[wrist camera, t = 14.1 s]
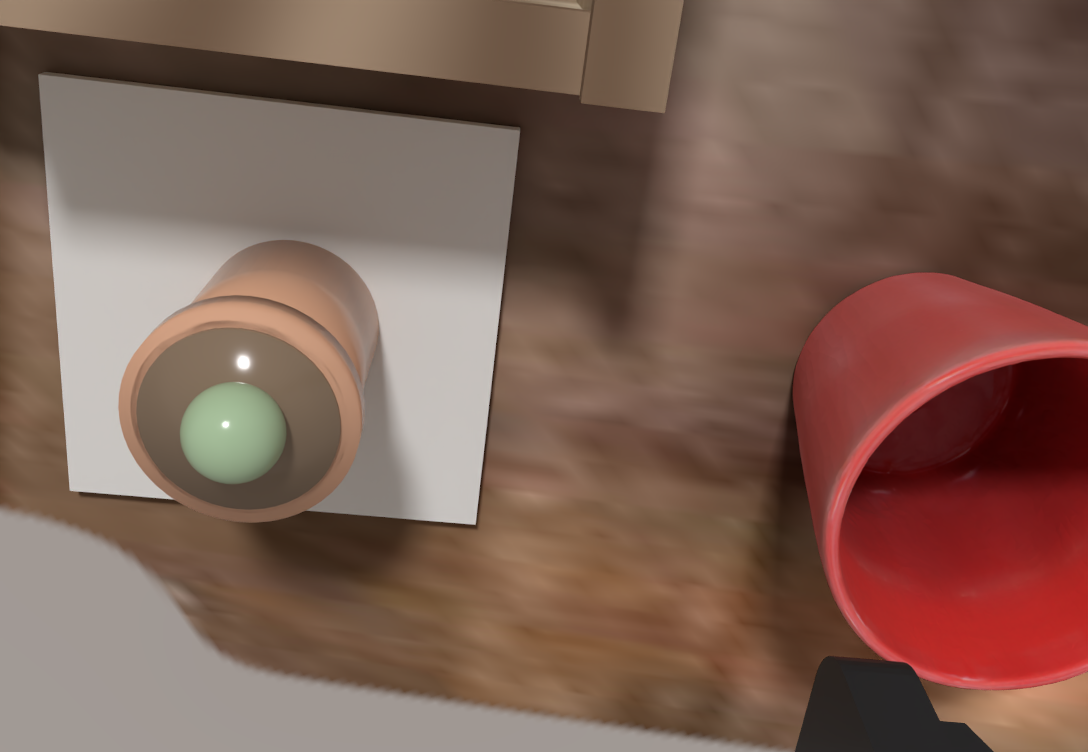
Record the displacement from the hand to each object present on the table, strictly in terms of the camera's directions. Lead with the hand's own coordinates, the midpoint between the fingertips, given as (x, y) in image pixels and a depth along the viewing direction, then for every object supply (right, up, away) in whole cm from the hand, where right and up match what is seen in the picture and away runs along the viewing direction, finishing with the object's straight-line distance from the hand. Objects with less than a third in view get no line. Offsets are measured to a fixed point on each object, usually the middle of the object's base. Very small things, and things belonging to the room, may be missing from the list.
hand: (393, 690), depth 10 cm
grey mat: (-7, +5, +24) cm, 25 cm away
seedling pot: (-7, +5, +23) cm, 25 cm away
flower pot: (+14, +3, +26) cm, 29 cm away
